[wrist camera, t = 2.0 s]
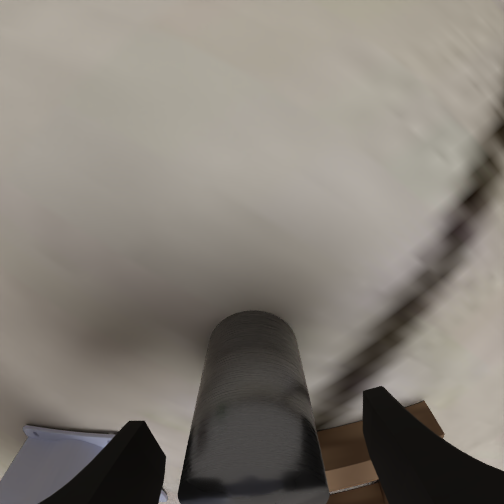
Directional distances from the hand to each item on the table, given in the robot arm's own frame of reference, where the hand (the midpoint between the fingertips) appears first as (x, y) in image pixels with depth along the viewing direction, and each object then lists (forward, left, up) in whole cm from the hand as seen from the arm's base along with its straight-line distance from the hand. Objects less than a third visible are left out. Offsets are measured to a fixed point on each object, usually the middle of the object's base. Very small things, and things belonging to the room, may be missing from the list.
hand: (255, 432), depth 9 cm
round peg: (0, 0, -5) cm, 5 cm away
